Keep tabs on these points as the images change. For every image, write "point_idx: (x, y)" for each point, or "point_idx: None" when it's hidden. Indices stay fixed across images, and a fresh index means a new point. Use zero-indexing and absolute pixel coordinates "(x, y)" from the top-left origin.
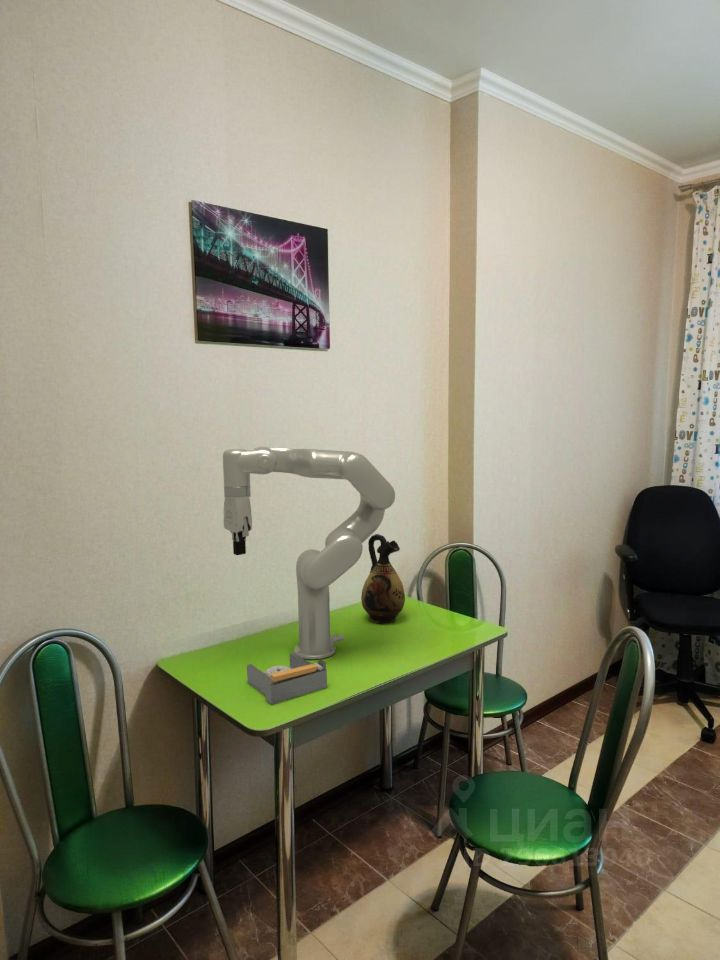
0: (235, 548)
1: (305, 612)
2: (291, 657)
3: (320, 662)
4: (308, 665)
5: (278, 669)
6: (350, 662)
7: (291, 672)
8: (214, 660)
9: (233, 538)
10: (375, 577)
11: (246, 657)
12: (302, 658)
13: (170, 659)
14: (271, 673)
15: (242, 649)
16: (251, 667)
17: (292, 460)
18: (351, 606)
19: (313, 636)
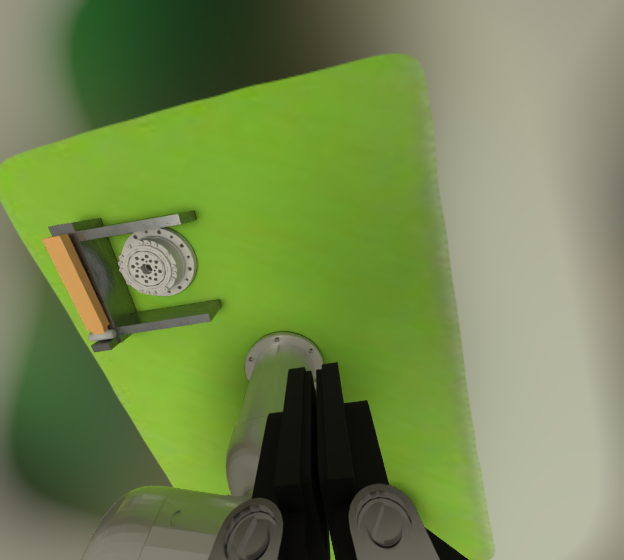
0: (285, 411)
1: (248, 409)
2: (202, 312)
3: (99, 344)
4: (96, 320)
5: (152, 270)
6: (213, 396)
7: (62, 278)
8: (342, 177)
9: (386, 525)
10: None
11: (323, 246)
12: (171, 326)
13: (405, 75)
14: (135, 251)
15: (372, 251)
16: (159, 219)
17: None
18: (472, 494)
19: (249, 381)
